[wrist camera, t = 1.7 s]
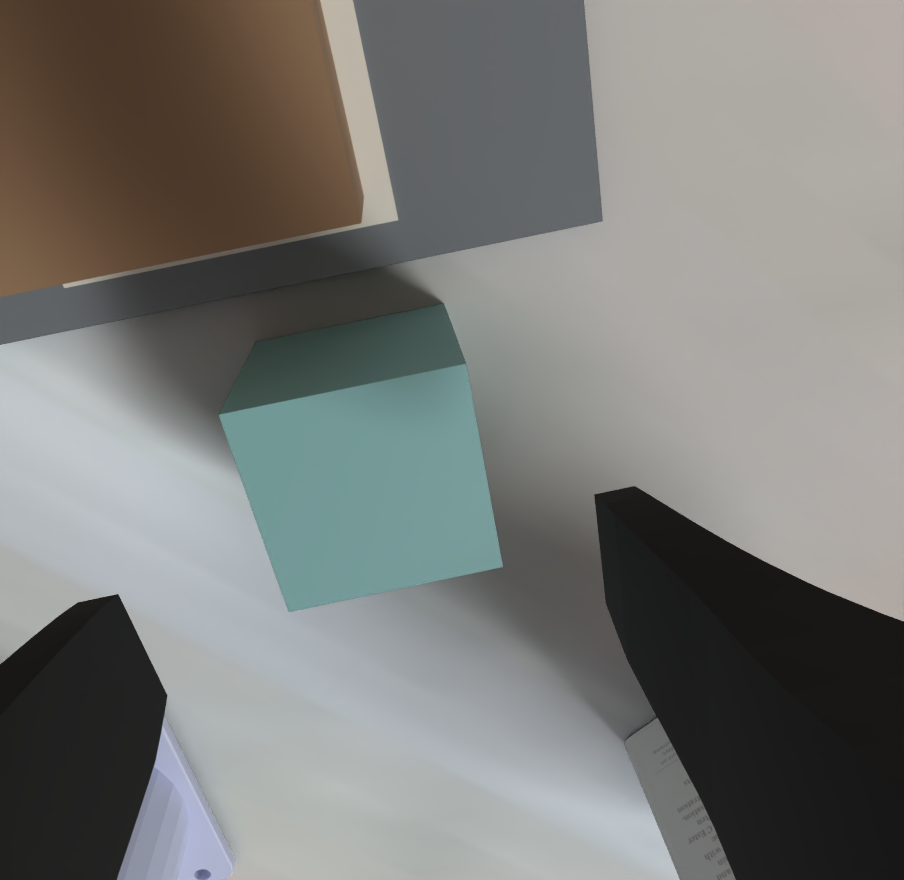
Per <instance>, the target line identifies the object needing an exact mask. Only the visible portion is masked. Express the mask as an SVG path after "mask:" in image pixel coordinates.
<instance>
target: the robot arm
mask: <svg viewBox="0 0 904 880" xmlns="http://www.w3.org/2000/svg"><path fill="white" fill-rule="evenodd" d="M594 496H595V505H596V514H597V523H598V533H599V542H600V551H601V561H602V570H603V579H604V589H605V598H606V604H607V607H608V610H609V612H610V615H611V618H612V621H613V623H614V626H615V629H616V631H617V634H618V637H619V639H620V642H621V644H622V647H623V650H624V652H625V655H626V657H627V660H628V662H629V664H630V666H631V668H632V670H633V672H634V674H635V676H636V678H637V680H638V681H639V683H640V685H641V687H642V689H643V691H644V693H645V695H646V697H647V699H648V701H649V702H650V704H651V706H652V708H653V710H654V712H655V714H656V716H657V718H658V719H659V721H660V723H661V725H662V727H663V729H664V731H665V733H666V735H667V736H668V738H669V740H670V742H671V744H672V746H673V748H674V750H675V752H676V753H677V755H678V757H679V759H680V761H681V763H682V765H683V767H684V768H685V770H686V772H687V774H688V776H689V778H690V780H691V782H692V784H693V785H694V787H695V789H696V791H697V793H698V795H699V797H700V799H701V801H702V803H703V805H704V808H705V810H706V812H707V814H708V816H709V818H710V820H711V822H712V824H713V826H714V829H715V831H716V833H717V836H718V838H719V841H720V843H721V845H722V848H723V850H724V853H725V855H726V857H727V860H728V862H729V865H730V867H731V869H732V872H733V874H734V877H735V879H736V880H904V622H903V621H901V620H898V619H895V618H892V617H889V616H887V615H884V614H881V613H879V612H877V611H874V610H872V609H869V608H867V607H864V606H862V605H859V604H857V603H854V602H852V601H849V600H847V599H844V598H842V597H840V596H837V595H835V594H832V593H830V592H827V591H825V590H823V589H821V588H818V587H816V586H814V585H812V584H810V583H807V582H805V581H803V580H801V579H799V578H797V577H795V576H793V575H791V574H789V573H787V572H785V571H783V570H781V569H779V568H777V567H775V566H773V565H770V564H768V563H766V562H764V561H762V560H760V559H759V558H757V557H755V556H753V555H751V554H749V553H747V552H745V551H744V550H742V549H740V548H738V547H736V546H734V545H733V544H731V543H729V542H727V541H725V540H724V539H722V538H720V537H718V536H717V535H715V534H713V533H711V532H710V531H708V530H706V529H705V528H703V527H701V526H699V525H698V524H696V523H694V522H693V521H691V520H689V519H688V518H686V517H685V516H683V515H681V514H680V513H678V512H676V511H675V510H673V509H671V508H670V507H668V506H667V505H665V504H663V503H662V502H660V501H658V500H657V499H655V498H654V497H652V496H650V495H649V494H647V493H645V492H644V491H642V490H640V489H638V488H637V487H635V486H633V487H628V488H624V489H619V490H614V491H609V492H605V493H600V494H595V495H594ZM166 701H167V694H166V692H165V690H164V688H163V686H162V684H161V682H160V679H159V677H158V675H157V673H156V671H155V669H154V667H153V665H152V663H151V661H150V659H149V657H148V655H147V653H146V651H145V648H144V646H143V644H142V642H141V640H140V638H139V636H138V634H137V632H136V630H135V628H134V626H133V624H132V622H131V620H130V617H129V615H128V613H127V611H126V609H125V607H124V605H123V603H122V601H121V599H120V597H119V595H118V594H117V595H112V596H107V597H102V598H98V599H93V600H88V601H83V602H78V603H77V604H75V605H74V606H72V607H71V608H69V609H68V610H66V611H65V612H64V613H62V614H61V615H60V616H58V617H57V618H56V619H54V620H53V621H52V622H51V623H49V624H48V625H47V626H46V627H44V628H43V629H42V630H41V631H40V632H38V633H37V634H36V635H35V636H33V637H32V638H31V639H30V640H29V641H28V642H26V643H25V644H24V645H23V646H22V647H20V648H19V649H18V650H17V651H16V652H14V653H13V654H12V655H11V656H10V657H9V658H7V659H6V660H5V661H4V662H3V663H1V664H0V880H223V879H226V878H228V877H229V876H230V875H232V873H233V871H234V865H235V858H234V856H233V854H232V852H231V850H230V848H229V846H228V844H227V842H226V840H225V838H224V836H223V834H222V832H221V830H220V827H219V825H218V823H217V821H216V819H215V817H214V815H213V813H212V811H211V809H210V807H209V805H208V803H207V801H206V799H205V797H204V795H203V793H202V791H201V789H200V787H199V785H198V783H197V781H196V779H195V777H194V775H193V773H192V771H191V769H190V767H189V764H188V762H187V760H186V758H185V756H184V754H183V752H182V750H181V748H180V746H179V744H178V742H177V740H176V738H175V736H174V734H173V732H172V730H171V728H170V726H169V724H168V722H167V720H166V718H165V716H164V713H165V707H166Z"/></svg>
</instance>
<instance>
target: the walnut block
mask: <svg viewBox="0 0 904 880" xmlns="http://www.w3.org/2000/svg"><path fill="white" fill-rule="evenodd" d="M363 203H364V193H363V189H362V184H361V180H360V176H359V171H358V167H357V162H356V158H355V153H354V149H353V144H352V140H351V135H350V131H349V127H348V122H347V118H346V113H345V109H344V104H343V100H342V95H341V91H340V86H339V82H338V78H337V73H336V69H335V64H334V60H333V55H332V51H331V46H330V42H329V37H328V33H327V29H326V24H325V20H324V15H323V11H322V6H321V2H320V0H0V297H2V296H7V295H12V294H17V293H22V292H27V291H32V290H37V289H42V288H47V287H51V286H56V285H61V284H66V283H71V282H76V281H81V280H86V279H91V278H96V277H100V276H105V275H110V274H115V273H120V272H125V271H130V270H135V269H140V268H145V267H150V266H154V265H159V264H164V263H169V262H174V261H179V260H184V259H189V258H194V257H199V256H203V255H208V254H213V253H218V252H223V251H228V250H233V249H238V248H243V247H248V246H252V245H257V244H262V243H267V242H272V241H277V240H282V239H287V238H292V237H297V236H302V235H306V234H311V233H316V232H321V231H326V230H331V229H336V228H341V227H346V226H351V225H355V224H360V223H361V221H362V212H363Z"/></svg>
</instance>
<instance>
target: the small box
mask: <svg viewBox="0 0 904 880" xmlns="http://www.w3.org/2000/svg"><path fill="white" fill-rule="evenodd" d="M625 747H626V750H627V752H628V754H629V757H630V759H631V762H632V764H633V766H634V769H635V771H636V774H637V776H638V778H639V781H640V783H641V786H642V788H643V791H644V793H645V796H646V798H647V800H648V803H649V805H650V808H651V810H652V813H653V815H654V817H655V820H656V822H657V825H658V827H659V829H660V832H661V834H662V837H663V839H664V842H665V844H666V846H667V849H668V851H669V854H670V856H671V859H672V861H673V864H674V866H675V869H676V871H677V874H678V876H679V879H680V880H736V879H735V877H734V874H733V872H732V869H731V867H730V865H729V862H728V860H727V857H726V855H725V853H724V850H723V848H722V845H721V843H720V841H719V838H718V836H717V833H716V831H715V829H714V826H713V824H712V822H711V820H710V818H709V816H708V814H707V812H706V810H705V808H704V805H703V803H702V801H701V799H700V797H699V795H698V793H697V791H696V789H695V787H694V785H693V784H692V782H691V780H690V778H689V776H688V774H687V772H686V770H685V768H684V767H683V765H682V763H681V761H680V759H679V757H678V755H677V753H676V752H675V750H674V748H673V746H672V744H671V742H670V740H669V738H668V736H667V735H666V733H665V731H664V729H663V727H662V725H661V723H660V721H659V719H658V718H656V719H654V720H653V721H651V722H650V723H649V724H647V725H646V726H645V727H643V728H642V729H640V730H639V731H637V732H636V733H634V734H633V735H632V736H630V737H629V738H628V739H627V740H626V742H625Z"/></svg>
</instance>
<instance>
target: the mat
mask: <svg viewBox="0 0 904 880" xmlns="http://www.w3.org/2000/svg"><path fill="white" fill-rule="evenodd" d="M320 2H321V6H322V11H323V15H324V20H325V24H326V29H327V33H328V37H329V42H330V46H331V51H332V55H333V60H334V64H335V69H336V73H337V78H338V82H339V86H340V91H341V95H342V100H343V104H344V109H345V113H346V118H347V122H348V127H349V131H350V135H351V140H352V144H353V149H354V153H355V158H356V162H357V167H358V171H359V176H360V180H361V184H362V189H363V193H364V203H363V212H362V221H361V223H360V224H355V225H351V226H346V227H341V228H336V229H331V230H326V231H321V232H316V233H311V234H306V235H302V236H297V237H292V238H287V239H282V240H277V241H272V242H267V243H262V244H257V245H252V246H248V247H243V248H238V249H233V250H228V251H223V252H218V253H213V254H208V255H203V256H199V257H194V258H189V259H184V260H179V261H174V262H169V263H164V264H159V265H154V266H150V267H145V268H140V269H135V270H130V271H125V272H120V273H115V274H110V275H105V276H100V277H96V278H91V279H86V280H81V281H76V282H71V283H66V284H61V285H56V286H51V287H47V288H42V289H37V290H32V291H27V292H22V293H17V294H12V295H7V296H2V297H0V345H1V344H6V343H11V342H16V341H21V340H26V339H31V338H35V337H40V336H45V335H50V334H55V333H60V332H65V331H70V330H74V329H79V328H84V327H89V326H94V325H99V324H104V323H109V322H113V321H118V320H123V319H128V318H133V317H138V316H143V315H148V314H152V313H157V312H162V311H167V310H172V309H177V308H182V307H187V306H192V305H196V304H201V303H206V302H211V301H216V300H221V299H226V298H231V297H235V296H240V295H245V294H250V293H255V292H260V291H265V290H270V289H274V288H279V287H284V286H289V285H294V284H299V283H304V282H309V281H314V280H318V279H323V278H328V277H333V276H338V275H343V274H348V273H353V272H357V271H362V270H367V269H372V268H377V267H382V266H387V265H392V264H396V263H401V262H406V261H411V260H416V259H421V258H426V257H431V256H435V255H440V254H445V253H450V252H455V251H460V250H465V249H470V248H475V247H479V246H484V245H489V244H494V243H499V242H504V241H509V240H514V239H518V238H523V237H528V236H533V235H538V234H543V233H548V232H553V231H557V230H562V229H567V228H572V227H577V226H582V225H587V224H592V223H597V222H601V221H603V219H602V207H601V196H600V184H599V172H598V161H597V149H596V137H595V126H594V114H593V102H592V90H591V79H590V67H589V55H588V44H587V32H586V20H585V9H584V0H320Z"/></svg>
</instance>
